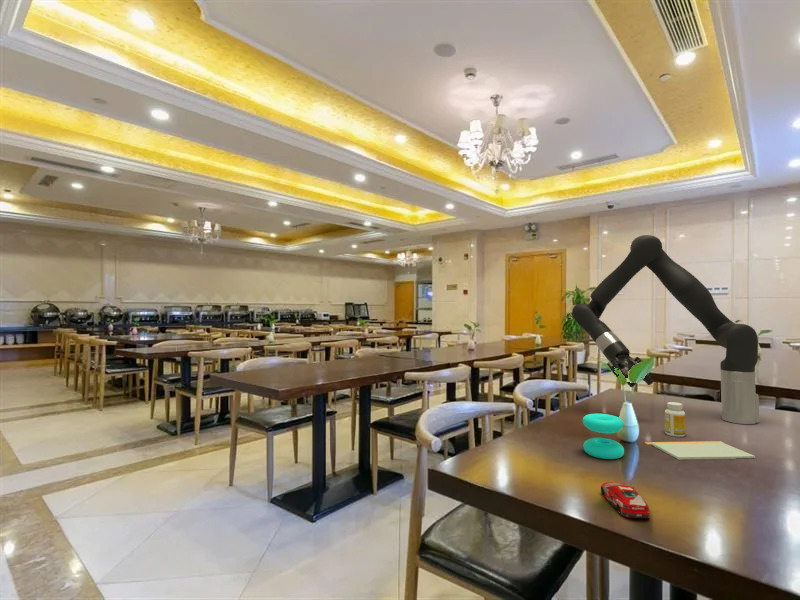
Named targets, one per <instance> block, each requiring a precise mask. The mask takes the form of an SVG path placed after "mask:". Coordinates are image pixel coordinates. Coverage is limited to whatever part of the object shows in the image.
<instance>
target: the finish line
mask: <svg viewBox="0 0 800 600" xmlns="http://www.w3.org/2000/svg"><path fill="white" fill-rule="evenodd" d="M663 443H725V442H723V441H721V440H719V441H718V440H717V441H716V440H714V441H713V440H712V441H711V440H710V441H709V440H707V441H706V440H705V441H701V440H700V441H649V442H648V441H645V442H644V445H647V446H653V444H663Z"/></svg>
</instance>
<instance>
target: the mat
mask: <svg viewBox="0 0 800 600" xmlns="http://www.w3.org/2000/svg"><path fill="white" fill-rule="evenodd" d="M652 446H653V447H654V448H656V449H658V450H660V451H662V452H663V453H665V454H667V455H668V456H671V457H673V458H675V459H677V460H678V461H681V460H684V461H685V460H689V461H690V460H737V459H736V458H756V456H755V455H754V454H751V453H749V452H746V451H744V450H742V449H740V448H737V447H734V446H732V445H730V444H727V443H725V442H724V443H663V444H653V445H652Z"/></svg>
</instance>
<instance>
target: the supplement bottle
mask: <svg viewBox="0 0 800 600" xmlns="http://www.w3.org/2000/svg"><path fill="white" fill-rule="evenodd" d="M666 407H667V408H666V409H665V410H664V432H665V435H668V436H670V437H677V438H678V437H679V438H683V437H685V436H686V435H687V433H686V428H687V427H686V412H685V411H684V410H683V407H684V406H683V403H681V402H673V401H669V402H667V403H666Z"/></svg>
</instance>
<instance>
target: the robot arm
mask: <svg viewBox="0 0 800 600" xmlns="http://www.w3.org/2000/svg"><path fill="white" fill-rule="evenodd" d="M629 248H630V251H629V253H628V254H627V256H626V257H625V258H624V259H623V261H622V262H621V263H620V264H619V265H618V266H617V267H616V268H615V269H614V270H613V271H611V273H609V274H608V275H607V276H606V277H605V278H604V279H603V280H602V281H601V282H600V283H599V284H598V285H597V286H596V287H595V289H594V290H593V291H592V292H591V293H590V296H589V297H590V299H591V300H590V302H589V303H588V304H585V303H578V304H575V305H574V306H573V308H572V310H571V314H572V318H573V319H574V322H576V323H577V324H578V325H579V327H581V328H582V329H583V330H584V331H585V332H586V333H587V334H588V335H589V337H590V338H591V339H592V341H593V342H594V343H595V344H596V346H597V348H598V350H599V351H600V352H601V353H602V354H603V355H604V357H605V358H606V359H607V361H608V362H607V363H606V365H607V366H608V368H609V369H610V370H611V371H612V373H613V375H614V376H615V375H616V376H615V377H616V378H619V377H618V376H619V374H618V375H617V374H616V373H615V372H614V371H615V370H614V369H615V368H618V369H617V370H616V371H618V370H619V369H620V370H621V372H622V374H623V375H624V376H625V378H628V375H629V372H630V371H629V370H630V369H631V367H632V366H633V365H635V364H637V363H639V362H641V361H642V359H641V358H640V357H639V356H636V357H635V358H633V357H631V356H630V353H631V351H630V349H629V348H628V347H627V346H626V344H624V342H623V341H622V340H621V339H620V338H619V336H617V335H616V333H614V331H612V330H611V328H610V327H609V326H608V325H607V324H606V323H605V322H604V321H602V320H600V318H601V316H602V315H603V313H604V311H605V309H606V308H607V306H608V305H609V304H610V302H612V300H613V299H614V298H615V297H616V296H617V295H618V294H619V293H620V292H621V291H622V290H623V288H624V287H625V286H626V285H627V284H628V283H629V282H630V281H631V280H632V279H633V278H634V277H635V275H637V274H638V273H640V271H641V270H643V268H645V267H646V268H648V269H649V270H650V271H651V272H652V273H653V274H654V275H655V276H656V278H658V280H659V281H660V282H661V284H662V285H663V286H664V287H665V289H667V291H668V293H670V294H671V295H672V296H673V297H674V298H675V299H676V301H678V302H679V304H681V306H682V307H684V308H685V309H686V310H687V311H688V312H689V313H690V314H691V315H692V316H693V317H694V318H695V319H697V320H698V321H699V322H700V323H701V324H702V325H703V327H705V329H706V330H707V332H708V333H709V334H710V335H711V337H712V338H713V339H714V340H715V341H716V343H717V344H718V345H719V346H721V347H722V348H724V349H725V350H726V351H725V358H724V359H723V360H721V361H720V366H719V367H720V393H721V394H720V396H721V400H720V401H721V419H722V420H723V421H726V422H729V423H734V424H741V425H755V424H759V423H760V397H759V394H758V393H756V365H757V363H758V361H759V360H758V358H759V357H758V355H759V337H758V333H757V332H756V330H755V328H754V327H752V326H751V325H749V324H744V323H735V321H734V322H733V320H731V319H730V318H728V317H727V315H725V314H724V312H722V311H721V310H720V309H719V307H718V306H717V304H716V301H715V299H714V298H713V295H712V294H711V292H710V290H709V289H708V288H707V287H706V286H705V285H704V284H703V283H702V281H700V280H699V279H698V278H697V277H696V276H694V274H693V273H691V272H689V270H687V269H685V268H684V267H683V266H681V265H680V264H678V263H677V262H675V261H674V260H673V258H671V257H670V256H669V254H667V253H666V251H665V250H664V249H663V244H662V241H661V240H660V238H659V237H657V236H654V235H650V234H645V235H639V236H637V237H635V238H634V239H633V240H632V242H631V243H630V246H629ZM614 367H615V368H614ZM642 380H643V381H644V382H645V383H646V385H648V386H651V385H652V384H653V383H654V379H653V378H652V377H651V376H650V375H649V373H647V375H646V376H645V378H644V379H643V378H642ZM625 382H626V381H625ZM626 384H627V385H628V386H629V388H634V387H635V386H636V385H637V383H636V381H635V383H630V382H626Z"/></svg>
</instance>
